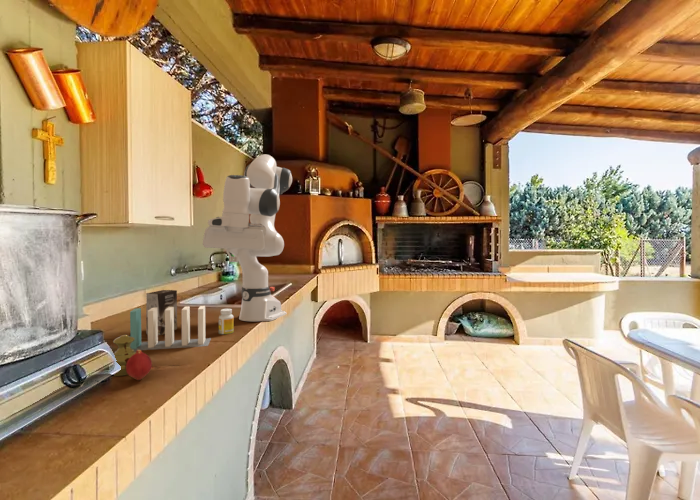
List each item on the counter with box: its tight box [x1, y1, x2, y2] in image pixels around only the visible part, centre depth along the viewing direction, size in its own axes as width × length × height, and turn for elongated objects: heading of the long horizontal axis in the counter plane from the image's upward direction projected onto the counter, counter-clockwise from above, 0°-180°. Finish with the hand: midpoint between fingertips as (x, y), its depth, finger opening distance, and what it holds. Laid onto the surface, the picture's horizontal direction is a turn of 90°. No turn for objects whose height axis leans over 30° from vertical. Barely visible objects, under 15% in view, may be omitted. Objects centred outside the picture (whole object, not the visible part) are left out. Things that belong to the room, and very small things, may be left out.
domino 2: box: [147, 308, 159, 348], centre depth 117 cm, size 2×5×12 cm, turn 14°
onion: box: [126, 350, 153, 381], centre depth 92 cm, size 6×6×8 cm
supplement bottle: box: [218, 308, 235, 335], centre depth 133 cm, size 5×5×10 cm
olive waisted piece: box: [112, 334, 136, 377], centre depth 97 cm, size 7×8×10 cm
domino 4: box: [181, 305, 191, 346], centre depth 119 cm, size 2×5×12 cm, turn 15°
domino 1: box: [129, 307, 142, 349], centre depth 115 cm, size 2×5×12 cm, turn 15°
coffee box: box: [145, 289, 178, 336], centre depth 133 cm, size 9×6×16 cm
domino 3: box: [164, 307, 175, 347], centre depth 118 cm, size 2×5×12 cm, turn 15°
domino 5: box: [197, 305, 206, 345], centre depth 121 cm, size 2×5×12 cm, turn 15°
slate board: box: [130, 337, 212, 351], centre depth 118 cm, size 25×9×1 cm, turn 105°
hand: (233, 261), depth 123 cm, fingers closed
